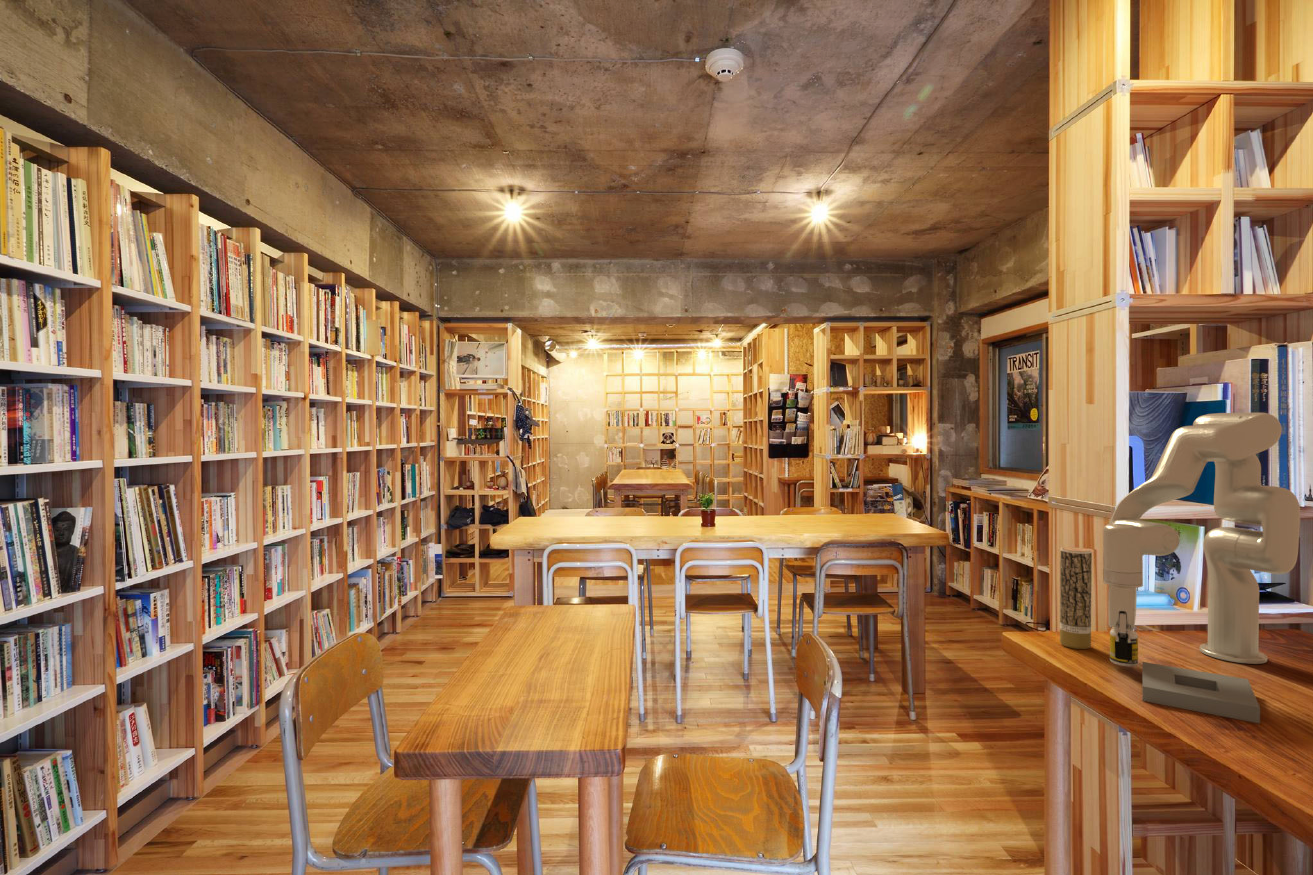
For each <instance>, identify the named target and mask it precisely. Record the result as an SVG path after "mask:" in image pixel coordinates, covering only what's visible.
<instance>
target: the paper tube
mask: <svg viewBox="0 0 1313 875" xmlns="http://www.w3.org/2000/svg"><path fill="white" fill-rule="evenodd" d="M1092 554H1093V553H1092V549H1089V548H1084V547H1077V546H1075V547H1074V546H1072V547H1071V546H1064V547H1063V546H1062V547H1060V556H1059V557H1060V562H1059V563H1060V564H1059V565H1060V576H1059V579H1060V581H1059V582H1060V584H1059V585H1060V586H1059V587H1060V589H1059V594H1060V595H1059V596H1060V597H1059V643H1060V644H1061V645H1062V646H1065V647H1067V648H1069V649H1075V650H1087V649H1090V647H1091V645H1092V579H1093V578H1092V573H1093V572H1092V566H1093V564H1092V563H1093V562H1092V559H1093V558H1092V557H1093V556H1092Z"/></svg>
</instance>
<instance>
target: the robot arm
mask: <svg viewBox="0 0 1313 875" xmlns="http://www.w3.org/2000/svg"><path fill="white" fill-rule="evenodd" d="M1282 432H1283V427H1282V424H1281V423H1280V421H1279V419H1278V418H1277V416H1274V415H1273V414H1270V413H1268V412H1218V413H1207V414H1204V415H1200V416H1198V417H1197V418H1196V419H1195V420H1194V421H1193V423H1192V425H1185V426H1181V427H1179V428H1177V429H1175V430H1174V431H1173V432H1172V433H1171V435H1170V437H1169V439H1168V442H1167V443H1166V446H1165V447H1164V449H1163V452H1162V454H1161V456H1160V458H1159V460H1158V462H1157V465H1156V467H1155V469H1154V471H1153V473H1152V476H1151V477H1150V478H1149V479H1148V480H1146V481H1145V482H1143V483H1141V484H1139V485H1138V486H1137V487H1136V488H1134V489H1132V491H1130V492H1129V493H1127V494H1126V495H1125V496H1124V497H1123V498H1122V499H1121V500H1120V501H1119V502H1118V504H1117V506H1116V507H1115V509H1114V511H1113V514H1112V516H1111V518H1110V520H1109V523H1108V524H1106V525H1104V527H1103V529H1102V562H1103V563H1102V564H1103V569H1102V572H1103V573H1102V574H1103V575H1102V576H1103V584H1105V585H1108V595H1107V596H1108V600H1107V602H1108V604H1107V607H1108V609H1107V612H1108V625H1107V626H1108V627H1109V628H1110V629H1113V628H1115V625H1116V641H1115V658H1117V659H1123V660H1129V661H1131V660H1132V643H1131V631H1132V630H1133V631H1135V630H1134V629H1135V626H1136V624H1135V623H1136V618H1137V617H1136V616H1137V599H1138V598H1137V588H1142V587H1143V586H1144V578H1143V577H1144V574H1143V571H1144V570H1143V569H1144V566H1143V565H1144V563H1143V562H1144V561H1143V560H1144V558H1143V556H1156V557H1161V556H1167V555H1170V554H1172V553H1174V552H1175V551H1176V550H1177V549H1178V547H1179V545H1180V541H1181V540H1180V536H1179V533H1178V531H1176V529H1174V527H1171V526H1170V525H1167V524H1165V523H1160V522H1154V521H1153V522H1152V521H1146V520H1141V518H1142V517H1143V515H1145V514H1146V513H1147V512H1148V511H1149V510H1151V509H1152V508H1153V509H1154V507H1157V506H1159V505H1162V504H1165V503H1169V502H1171V501H1175V500H1178V499H1181V498H1184V497H1187V496H1190V495H1191V494H1192V493H1194V492H1195V489H1196V486H1197V485H1198V482H1199V480H1200V478H1201V476H1202V473H1203V471H1204V468H1205V467H1206V465H1207V463H1208V462H1214V465H1215V467H1214V468H1215V470H1214V472H1215V476H1214V477H1215V478H1214V489H1213V490H1214V493H1213V508H1214V509H1213V510H1214V513H1215V515H1216V516H1217V517H1218V518H1219V519H1221V520H1224V521H1228V522H1231V523H1239V524H1247V525H1255V526H1261V528H1262V530H1254V529H1248V528H1241V527H1240V528H1239V527H1234V526H1233V527H1231V526H1223V527H1221V526H1220V527H1216V528H1212V529H1211V530H1209V531H1208V532H1207V533H1206V534H1205V536H1204V538H1203V542H1202V543H1203V545H1202V546H1203V551H1204V557H1205V560H1206V561H1205V562H1206V567H1207V578H1208V580H1207V582H1208V584H1207V586H1208V587H1207V588H1208V589H1207V590H1208V591H1207V594H1208V595H1207V643H1202V644H1200V645H1199V651H1200V652H1201V653H1202V654H1204V655H1207V656H1209V657H1211V658H1215V659H1218V660H1222V661H1227V662H1231V663H1237V664H1248V665H1261V664H1265V663H1267V662H1268V656H1267V655H1266V654H1265V653H1263V652H1261V651H1260V650H1259V639H1260V638H1259V636H1260V635H1259V633H1260V632H1259V631H1260V630H1259V629H1260V628H1259V626H1260V625H1259V624H1260V623H1259V622H1260V617H1259V616H1260V586H1259V583H1258V581H1257V578H1256V577H1255V576H1254V573H1253V572H1252V571H1254V572H1255V571H1256V572H1261V573H1266V574H1273V575H1274V574H1275V575H1284V574H1287V573H1289V572H1291V571H1292V570H1293V569H1294V568H1295V566H1296V563H1297V560H1298V557H1299V556H1298V554H1299V544H1300V528H1301V527H1300V526H1301V525H1300V524H1301V506H1300V502H1299V499H1298V497H1297V496H1296V495H1295V494H1294V492H1292V491H1291V490H1290V489H1288V488H1284V487H1281V486H1272V485H1262V480H1261V479H1262V464H1261V462H1260V460H1259V458H1258V456H1257V454H1260V453H1261V452H1264V451H1266V450H1269V449H1270V448H1272V447H1273V446H1274V445H1276V443H1278V441H1279V440H1280V438H1281V435H1282ZM1118 625H1120V628H1118ZM1126 626H1128V628H1129V629H1126ZM1130 629H1131V630H1130ZM1119 631H1120V632H1119ZM1126 632H1128V634H1127V633H1126Z"/></svg>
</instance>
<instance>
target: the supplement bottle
mask: <svg viewBox="0 0 1313 875" xmlns="http://www.w3.org/2000/svg"><path fill="white" fill-rule="evenodd" d="M1118 628H1120V625H1118ZM1126 629H1129V628H1128V626H1126ZM1130 630H1131V629H1130ZM1119 632H1120V631H1119ZM1126 633H1127V634H1128V632H1126ZM1115 641H1116V625H1115V627H1112V628H1110V630H1109V661H1110V662H1111V663H1112V664H1115V665H1118V666H1122V667H1128V668H1131V667H1132V668H1133V667H1137V666H1138V665H1139V634H1138V632H1137V631H1135V630H1132V631H1131V643H1132V660H1131V661H1129V660H1123V659H1117V658H1115Z"/></svg>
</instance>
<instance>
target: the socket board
mask: <svg viewBox="0 0 1313 875" xmlns="http://www.w3.org/2000/svg"><path fill="white" fill-rule="evenodd" d="M1141 676H1142V679H1141V680H1142V682H1141V683H1142V685H1141V686H1142V689H1141V690H1142V695H1143V696H1142V701H1143V702H1146V701H1147V702H1148V703H1153V704H1157V705H1163V706H1167V707H1173V708H1179V709H1184V710H1189V711H1193V712H1199V713H1202V714H1203V713H1204V714H1209V715H1214V716H1218V717H1219V716H1220V717H1224V718H1231V719H1234V720H1240V721H1246V722H1249V723H1255V724H1261V707H1260V704H1259V702H1258V699H1257V698H1256V694H1255V693H1254V689H1253V688H1252V686H1251V684H1250V681H1249V679H1248V678H1244V677H1243V678H1242V677H1237V676H1230V675H1224V674H1219V673H1213V672H1206V671H1200V670H1195V669H1194V670H1193V669H1187V668H1182V667H1178V666H1169V665H1163V664H1159V663H1152V662H1147V661H1146V662H1145V661H1142V674H1141Z"/></svg>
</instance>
